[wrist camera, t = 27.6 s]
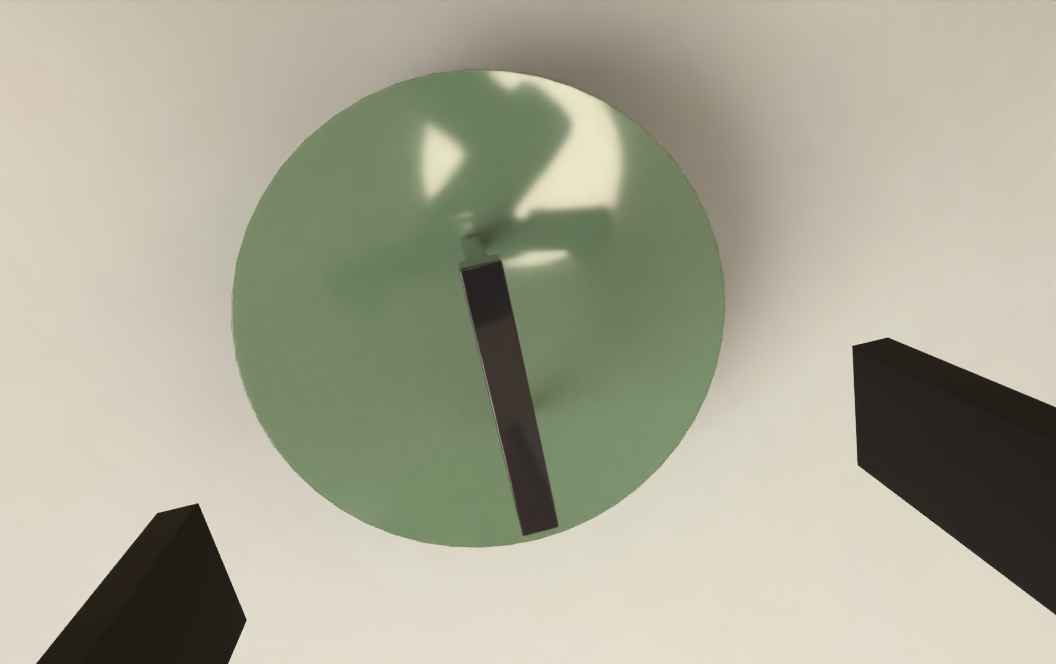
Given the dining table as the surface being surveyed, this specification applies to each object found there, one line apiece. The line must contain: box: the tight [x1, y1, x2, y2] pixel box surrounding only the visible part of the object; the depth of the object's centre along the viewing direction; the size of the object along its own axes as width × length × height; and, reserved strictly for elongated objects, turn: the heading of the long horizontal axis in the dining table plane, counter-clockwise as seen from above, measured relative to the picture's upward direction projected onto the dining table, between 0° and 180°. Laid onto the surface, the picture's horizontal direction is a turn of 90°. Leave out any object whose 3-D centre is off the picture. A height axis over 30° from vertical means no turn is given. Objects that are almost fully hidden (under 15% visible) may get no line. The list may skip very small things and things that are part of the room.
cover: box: [232, 69, 725, 548], centre depth 21 cm, size 19×19×9 cm
